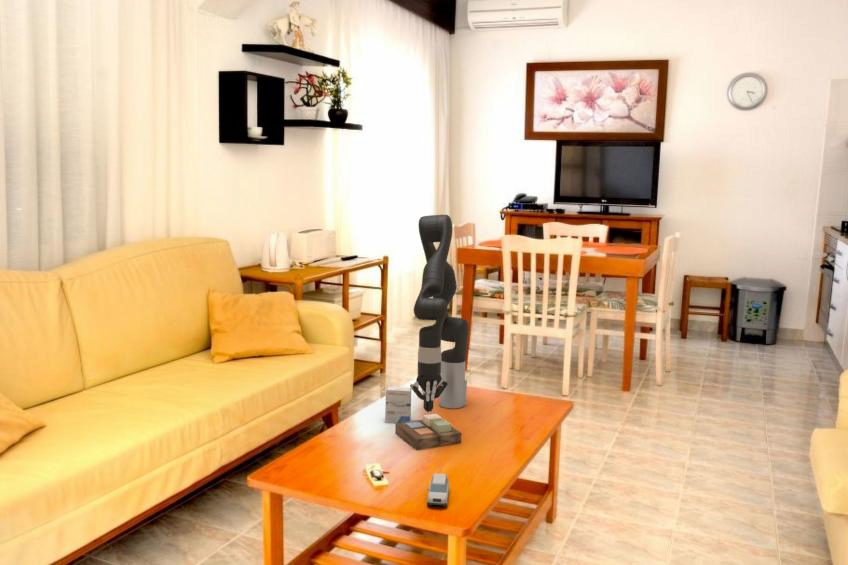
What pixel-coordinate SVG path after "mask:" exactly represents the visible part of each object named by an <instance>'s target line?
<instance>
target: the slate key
mask: <svg viewBox="0 0 848 565" xmlns="http://www.w3.org/2000/svg"><path fill="white" fill-rule="evenodd" d="M406 426H407V427H408V428H409V429H411V430H413V429H420V428H424V425H422V424H421V423H420V422H412V423H406Z"/></svg>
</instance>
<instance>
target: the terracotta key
mask: <svg viewBox="0 0 848 565" xmlns="http://www.w3.org/2000/svg"><path fill="white" fill-rule="evenodd" d="M414 432H415V433H416V434H418V435H419V436H425V435H432V434H433V432H432V431H431V430H429V429H428V428H421V429H414Z"/></svg>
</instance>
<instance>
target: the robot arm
mask: <svg viewBox="0 0 848 565" xmlns="http://www.w3.org/2000/svg"><path fill="white" fill-rule="evenodd" d="M418 233H419V237H420V242H421V244H422V248H423V251H424V252H423V253H424V257H425V260H426V263H425V265H424V268H423V271H422V279H421V288H420V291H419V293H418V296H417V298H416V300H415V302H414V305H413V306H414V307H413V314H414V316H415V318H416V319H418V320H420V321H422V320H423V321H435V323H434V324H431V325H428V326H423V327H421V328H420V329H419V332H418V349H417V350H418V351H417V377H416V381H415V382H414V383H411V384H409V385H410V386H409V388H411V391H413V393H414V394H415V395H416V396H417V397H418V398H419V399H420V400H421V401H423V410H424V411H425V412H426V413H429V412H433V410H434V400H436V399H438V398H439V399H438V402H439V403H438V405H439V406H440V407H442V408H445V409H459V408H463V407H466V406H467V391H468V390H467V389H468V381H467V380H466V359H467V350H468V342H469V341H468V339H469V323H468V320H467V319H465V318H462V317H455V316H450V315H449V313H448V307H449V305H450V303H451V302H452V300H453V297H454V296H455V294H456V291H457V287H458V286H457V278H456V273H455V270H454V268H453V267H452V265H451V264H450V263H449V262H448V261H447V259H448V256H449V252H450V248H451V243H452V239H453V220H452V218H451V217H450V215H449V214H432V215H423V216H421V217H420V218H419V220H418ZM434 243H439V245H438V247H437V248H436V245H435V244H434ZM442 342H448V343H449V342H450V343H454V347H453V348H451V349H446V350H443V351H442V346H441V345H442ZM420 388H421V391H420V390H419V389H420Z"/></svg>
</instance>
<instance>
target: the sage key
mask: <svg viewBox="0 0 848 565" xmlns="http://www.w3.org/2000/svg"><path fill="white" fill-rule="evenodd" d="M451 426H452V423H451V422H449V421H447V420H446V419H442V420H437V421H432V429H433V430H434V431H436V432H437V433H443V432H450V431H451Z"/></svg>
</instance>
